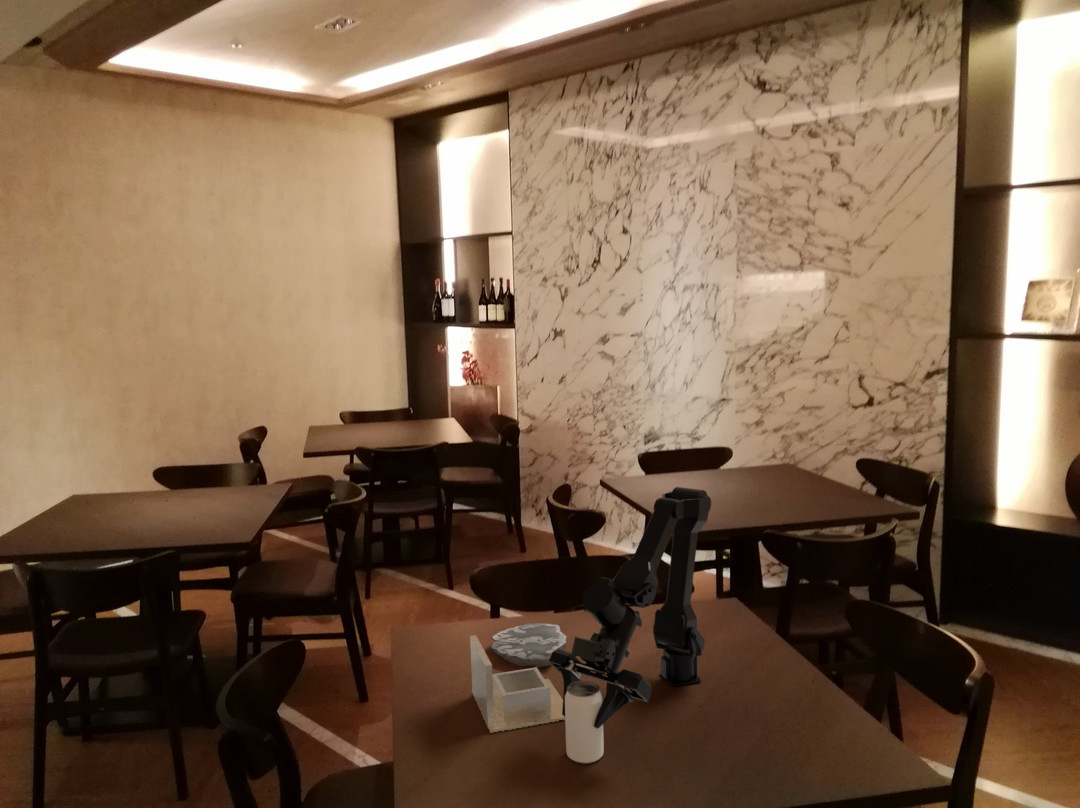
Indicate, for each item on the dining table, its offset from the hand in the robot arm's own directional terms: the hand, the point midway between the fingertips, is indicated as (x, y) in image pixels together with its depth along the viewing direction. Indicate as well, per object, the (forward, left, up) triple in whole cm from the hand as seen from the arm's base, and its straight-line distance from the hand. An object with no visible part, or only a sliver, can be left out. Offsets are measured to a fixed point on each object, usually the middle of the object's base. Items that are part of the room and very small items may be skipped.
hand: (579, 721), depth 136 cm
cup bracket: (+5, -21, -7) cm, 22 cm away
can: (-1, -1, -7) cm, 7 cm away
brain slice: (-3, -44, -7) cm, 45 cm away
